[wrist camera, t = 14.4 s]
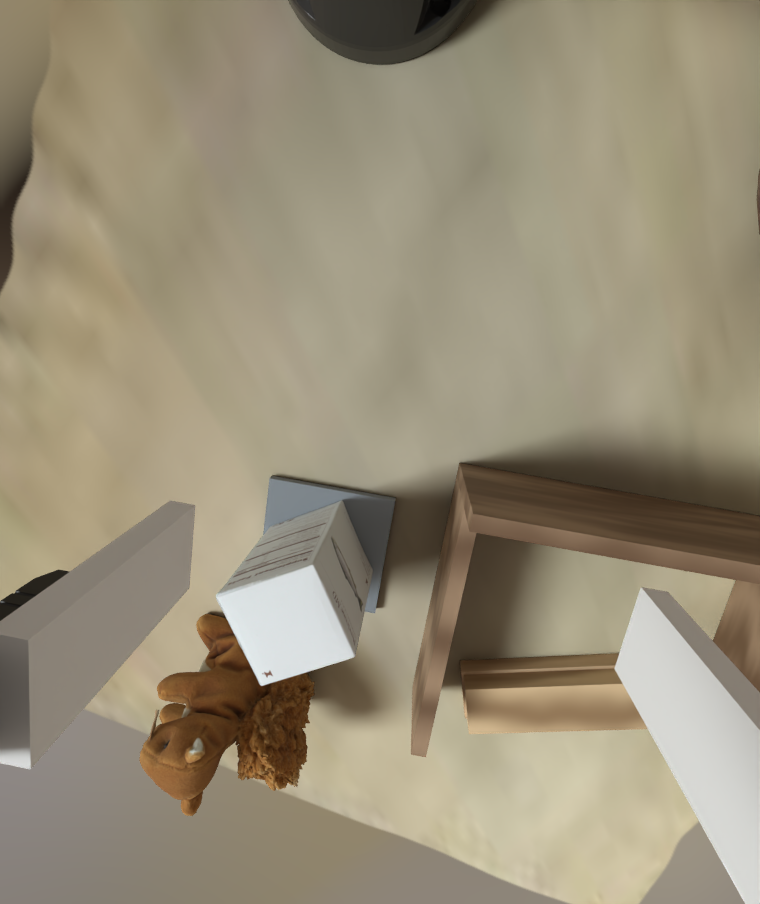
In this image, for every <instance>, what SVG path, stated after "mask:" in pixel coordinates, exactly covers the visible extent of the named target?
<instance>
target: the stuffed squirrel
mask: <svg viewBox="0 0 760 904" xmlns="http://www.w3.org/2000/svg"><path fill="white" fill-rule="evenodd" d="M196 626H197V631H198V633H199V635H200V637H201V639H202V640H203V642H204V644H205V645H206V646H207V648H208V649H209V651H210V652H209V654H208V655H207V657H206V659H205V660H204V661H203V663H202V665H201V667H200V669H199V672H184V673H176V674H173V675H170V676H168V677H166V678H165V679H163V680H162V681H161V682H160V683H159V684H158V686H157V691H158V696H159V698H160V699H162V700H165V701H170V702H176V703H173V704H168V705H166V706H165V707H164V708H163V709H162V710H161V712H160V716H159V717H160V720H161V722H162V724H160V725H158V726H157V727H156V720H157V717H158V714H159V710H156V711H155V718H154V722H153V725H152V728H151V733H150V736H149V738H148V740H147V741H146V742H145V743H144V745H143V748H142V751H141V753H140V763H141V766H142V768H143V769H144V771H145V772H146V773H147V774H148V776H150V778H151V779H152V780H153V781H154V782H155V783H156V785H158V786H159V787H160V788H161V789H162V790H164V791H165V792H167V793H168V794H169V795H170V796H172V797H173V798H175V799H178V800H182V801H181V809H182V812H183V813H184V814H185V815H188V816H193V815H194V814H195V813H196V811H197V809H198V808H199V806H200V804H201V800H202V794H203V790H204V789H205V788H206V787H207V785H208V784H209V782H210V781H211V779H212V777H213V776H214V774H215V771H216V769H217V767H218V764H219V761H220V758H221V756H222V754H223V753H224V751H225V750H226V749H227V748H228V747H229V746H231V745H232V744H233V743H234V742H235V741H236V745H238V744H239V745H238V746H237V750H238V758H239V762H238V772H237V773H238V774H239V775H238V778H240V779H241V780H244V779H245V777H247V779H249V778H253V777H254V778H255V779H262V780H265V782H266V784H268V786H269V788H270V789H272V790H273V791H275V789H276V788H277V789H278V790H279V789H282V788H286V785H287V783H289V784H291V785H294V787H295V786H296V787H297V786H298V785H297V783H298V778H299V776H300V775H299V772H300V771H299V769H302V767H301V765H302V764H303V765H304V763H305V762H306V761H307V760H306V756H307V755H306V754H307V745H306V734H305V733H304V731H303V729H302V728H306V726H305V724H306V723H310V722H309V720H308V715H307V713H308V711H309V705H310V702H309V700H311V698H310V697H312V696H313V695H314V693H313V692H314V689H313V687H314V683H315V682H311V679H310V677H309V676H308V673H307V672H306V673H303V674H299V675H296V676H293V677H289V678H286V679H283V680H280V681H276V682H273V683H270V684H267V685H264V686H261V685H260V684H259V682H258V679H257V677H256V675H255V674H254V672H253V670H252V668H251V666H250V664H249V662H248V660H247V658H246V656H245V654H244V652H243V650H242V648H241V647H240V645H239V643H238V640H237V638H236V636H235V634H234V632H233V630H232V628H231V626H230V624H229V622H228V621H227V619H226V618H223V617H219V616H215V615H211V614H205V615H203V616H202V617H200V618H199V620H198V621H197V624H196ZM178 703H182V704H178ZM184 703H185V704H186V706H185V705H183V704H184ZM155 727H156V728H155Z"/></svg>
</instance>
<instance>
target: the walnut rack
mask: <svg viewBox="0 0 760 904" xmlns="http://www.w3.org/2000/svg"><path fill="white" fill-rule="evenodd" d="M476 533H480V534H485V535H491V536H496V537H502V538H507V539H513V540H518V541H524V542H530V543H535V544H541V545H546V546H552V547H557V548H563V549H568V550H574V551H579V552H585V553H590V554H596V555H601V556H607V557H612V558H618V559H623V560H629V561H634V562H640V563H645V564H651V565H656V566H662V567H667V568H673V569H679V570H684V571H690V572H695V573H701V574H706V575H712V576H717V577H723V578H728V579H734V580H736V581H735V584H734V587H733V589H732V592H731V595H730V597H729V600H728V602H727V605H726V608H725V610H724V613H723V616H722V618H721V621H720V624H719V626H718V629H717V632H716V634H715V637H714V640H713V642H714V643H715V644H716V645H717V646H718V647H719V648H720V650H721V651H722V652H723V653H724V654H725V655H726V656H727V657H728V658H729V659H730V661H731V662H732V663H733V664H734V665H735V666H736V667H737V668H738V669H739V670H740V671H741V673H742V674H743V675H744V676H745V677H746V678H747V679H748V680H749V681H750V682H751V684H752V685H753V686H754V687H755V688H756V689H757V690H758V691H759V692H760V516H758V515H752V514H747V513H741V512H735V511H730V510H724V509H718V508H713V507H707V506H701V505H696V504H690V503H684V502H679V501H673V500H667V499H662V498H656V497H650V496H645V495H639V494H633V493H628V492H622V491H616V490H611V489H605V488H599V487H594V486H588V485H582V484H577V483H571V482H565V481H560V480H554V479H548V478H543V477H537V476H531V475H526V474H520V473H514V472H509V471H503V470H497V469H492V468H486V467H480V466H475V465H469V464H463V463H459V467H458V472H457V477H456V482H455V487H454V491H453V496H452V501H451V506H450V510H449V515H448V520H447V525H446V530H445V534H444V539H443V544H442V549H441V553H440V558H439V563H438V568H437V573H436V577H435V582H434V587H433V592H432V596H431V601H430V606H429V611H428V615H427V620H426V625H425V630H424V635H423V639H422V644H421V649H420V654H419V658H418V663H417V668H416V673H415V678H414V682H413V693H412V734H411V754H412V755H417V756H422V757H426V754H427V749H428V745H429V740H430V736H431V731H432V727H433V723H434V718H435V714H436V709H437V705H438V701H439V696H440V692H441V687H442V683H443V678H444V674H445V670H446V665H447V661H448V656H449V652H450V648H451V643H452V639H453V634H454V630H455V626H456V621H457V617H458V612H459V608H460V603H461V599H462V595H463V590H464V586H465V581H466V577H467V573H468V568H469V564H470V559H471V555H472V551H473V546H474V542H475V537H476Z"/></svg>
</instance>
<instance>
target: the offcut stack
mask: <svg viewBox="0 0 760 904" xmlns="http://www.w3.org/2000/svg"><path fill="white" fill-rule="evenodd" d="M618 656H619V653H615V654H593V655H571V656H548V657H526V658H504V659H482V660H460V667H461V679H462V691H463V703H464V713H465V718H467V721H468V729H469V734H489V733H523V732H557V731H591V730H626V729H648V728H647V726H646V725H645V723H644V721H643V719H642V717H641V716H640V714H639V712H638V710H637V708H636V707H635V705H634V703H633V701H632V699H631V698H630V696H629V694H628V692H627V690H626V689H625V687H624V685H623V683H622V681H621V680H620V678H619V676H618V674H617V672H616V671H615V669H614V668H615V665H616V662H617V659H618Z"/></svg>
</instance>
